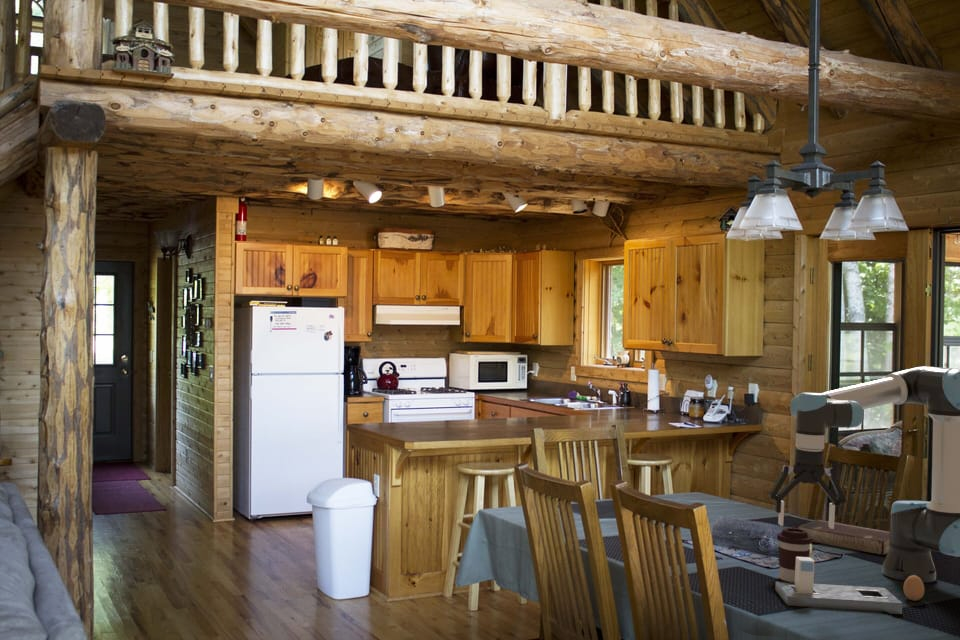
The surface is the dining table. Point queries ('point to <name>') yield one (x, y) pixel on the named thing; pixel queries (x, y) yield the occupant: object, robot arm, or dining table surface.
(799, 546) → the coffee cup
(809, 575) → the plug
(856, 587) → the panel
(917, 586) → the egg
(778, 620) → the dining table surface
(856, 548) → the hardback book
